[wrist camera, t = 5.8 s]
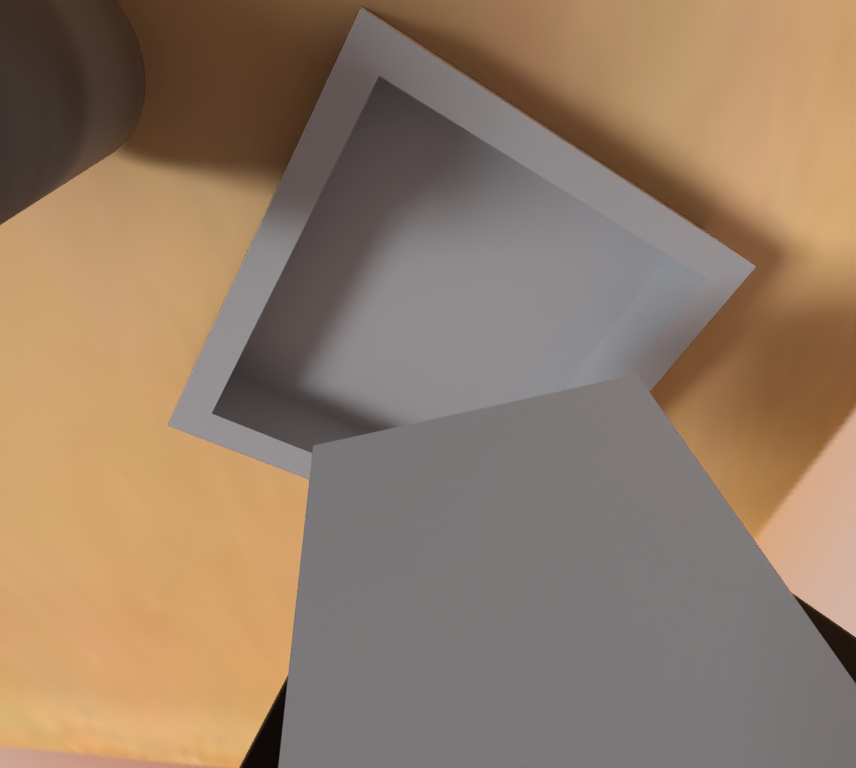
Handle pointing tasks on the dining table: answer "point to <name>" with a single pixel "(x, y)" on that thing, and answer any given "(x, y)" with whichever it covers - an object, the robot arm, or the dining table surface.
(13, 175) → the crank arm
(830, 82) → the dining table surface
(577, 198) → the tray
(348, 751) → the block
